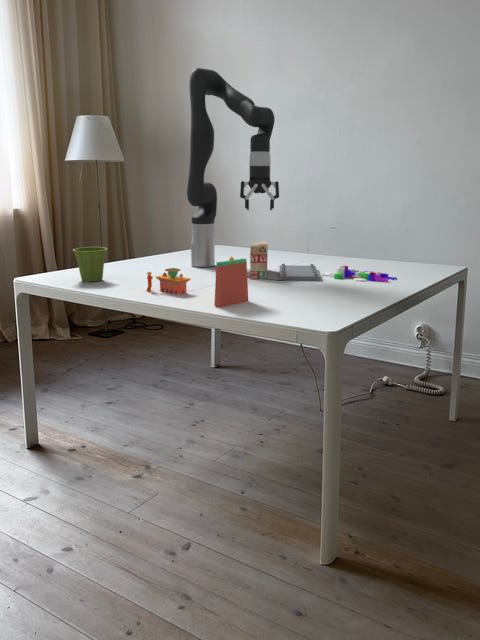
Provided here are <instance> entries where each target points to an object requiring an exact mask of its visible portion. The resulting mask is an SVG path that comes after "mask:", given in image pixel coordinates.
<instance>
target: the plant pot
mask: <svg viewBox="0 0 480 640" xmlns="http://www.w3.org/2000/svg"><path fill="white" fill-rule="evenodd" d="M107 250H108V248H107V247H104V246H84V247H76V248H74V249H72V251H73V253H74V256H75V258H76V261H77V266H78V270H79V275H80V278H81V281H82V282H87V283H90V282H101V281H103V276H104V266H105V257H106V252H107Z"/></svg>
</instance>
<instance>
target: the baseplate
mask: <svg viewBox="0 0 480 640" xmlns="http://www.w3.org/2000/svg"><path fill="white" fill-rule="evenodd" d="M320 275H321V274H320V273H319V271H318V269H317V266H316V265H314V264H313V263H310V265H293V264H292V265H289V264H287V265H285V263H281V264H280V265H279V276H280V279H281V280H280V281H291V282H293V281H297V282H299V281H300V282H302V281H306V282H307V281H308V282H315V281H316V282H321V276H320Z"/></svg>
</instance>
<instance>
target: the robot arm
mask: <svg viewBox="0 0 480 640" xmlns="http://www.w3.org/2000/svg"><path fill="white" fill-rule="evenodd" d="M206 96H214V97H216V98H218V99H221V100H222V101H223V102H224V103H225V105H226V107H227V108H228V109H230V111H232V112H233V113H235V114H236V115H237V116H240V117H241V119H242V120H243V121H244V122H245V123H246V124H247V125H248V126H249V127H253V128H258V130H257V132H256V134H253V135H252V136H251V137H250V147H249V148H250V153H249V163H248V164H249V178H248V179H249V180H248V181H244V180H242V181H241V182H240V192H239V198H241V199H244V208H245V209H246V211H250V210H249V209H250V199H249V198H250V197H251V196H252V195H253V194H266V195H268V197H269V198H270V200H269V202H270V203H269V211H273V210H274V209H275V200H276V199H279V198H280V185H279V181H278V180H276V181H271V163H272V162H271V152H270V151H271V143H270V141H271V138H272V133H273V129H274V125H275V113H274V111H273V110H272V109H271V108H269V107H264V106H257V105H256V104H255V102H254V101H253V100H252V98H250V97H249V96H247V95H246V94H243V93H242V92H240V91H238V90H237V89H236V88H234V87H233V86H231V85H230V83H228V82H227V81H226V80H225V78H223V77H222V76H221V75H220V74H219V72H216V70H212V69H207V68H201V67H196V68H194V69H193V70H192V71H191V73H190V76H189V98H190V134H189V135H190V136H189V137H190V138H189V139H190V142H189V145H190V148H189V149H190V151H189V152H190V153H189V155H190V156H189V169H188V171H189V172H188V179H187V187H186V197H187V200H188V203H189V204H190V206H192V207H198V210H197V212H196V213H195V214H193V215H192V216H191V243H190V249H191V250H190V253H191V255H190V256H191V258H190V259H191V260H190V261H191V262H190V263H191V264H190V265H191V267H196V268H209V267H214V266H216V260H215V259H216V258H215V257H216V256H215V253H216V250H215V249H216V248H215V247H216V246H215V245H216V244H215V233H216V232H215V219H216V217H217V209H218V208H217V206H218V204H217V203H218V194H217V193H218V192H217V188H216V186H215V185H214V184H213V183H211V182H205V172H206V168H207V165H208V163H209V161H210V159H211V157H212V154H213V152H214V147H215V144H214V143H215V129H214V126H213V123H212V120H211V118H210V117H209V114H208V111H207V106H206ZM247 186H249V188H250V190H249V191H248V193H247V194H245V188H246V187H247ZM270 187H273V188H275V194H274V195H273V193H272V192H271V191H270V189H269V188H270Z"/></svg>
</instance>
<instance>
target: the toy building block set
mask: <svg viewBox="0 0 480 640" xmlns="http://www.w3.org/2000/svg"><path fill="white" fill-rule="evenodd" d="M247 260H248V259H247V258H243V257H242V258H237V259H234V256H230V258H229V259H228V260H224V261H215V287H214V291H215V292H214V306H216V307H215V308H219V307H220V308H224V307H228V305H229V306H233V305H238V304H241V303H246V301H247V302H249V286H248V285H249V283H248V262H247ZM164 271H165V272H163V273H162V275H158V276H155V278H156V279H157V280H158V281H159V291H160V292H164V293H168V294H173V295H176V294H177V295H178V296H180V295H183V294H184V295H185V294H187V283H188V282H190V281H191V280H192V278H189V277H184V275H183V274H182V273H180V274H179V272H180V271H182V270H181V269H180V268H177V267H170V268H165V269H164ZM166 272H167V273H166ZM178 274H179V275H178ZM146 275H147V276H146V279H147V287H146V292H152V291H151V290H152V285H153V283H152V282H153V281H152V280H153V278H154V276H152V271H147V273H146ZM214 306H213V307H214ZM223 306H224V307H223Z"/></svg>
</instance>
